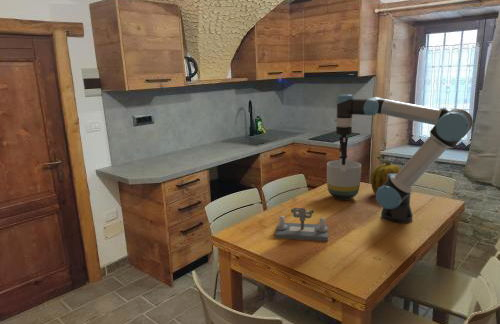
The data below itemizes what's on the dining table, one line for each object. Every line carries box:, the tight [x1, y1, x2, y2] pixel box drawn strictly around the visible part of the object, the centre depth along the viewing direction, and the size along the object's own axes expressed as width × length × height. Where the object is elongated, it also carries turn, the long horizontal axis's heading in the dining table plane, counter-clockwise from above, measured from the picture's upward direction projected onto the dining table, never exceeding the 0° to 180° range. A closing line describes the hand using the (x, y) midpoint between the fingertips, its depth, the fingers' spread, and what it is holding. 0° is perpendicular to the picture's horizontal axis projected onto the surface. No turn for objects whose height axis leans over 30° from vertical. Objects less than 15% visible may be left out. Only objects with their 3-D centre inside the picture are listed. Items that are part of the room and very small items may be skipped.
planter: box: [326, 159, 362, 201], centre depth 225 cm, size 20×20×21 cm
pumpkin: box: [370, 154, 402, 195], centre depth 227 cm, size 19×19×25 cm
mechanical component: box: [290, 207, 314, 230], centre depth 180 cm, size 3×10×10 cm, turn 78°
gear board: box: [274, 215, 329, 242], centre depth 180 cm, size 24×14×8 cm, turn 79°
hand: (342, 167), depth 194 cm, fingers open, 13 cm apart
